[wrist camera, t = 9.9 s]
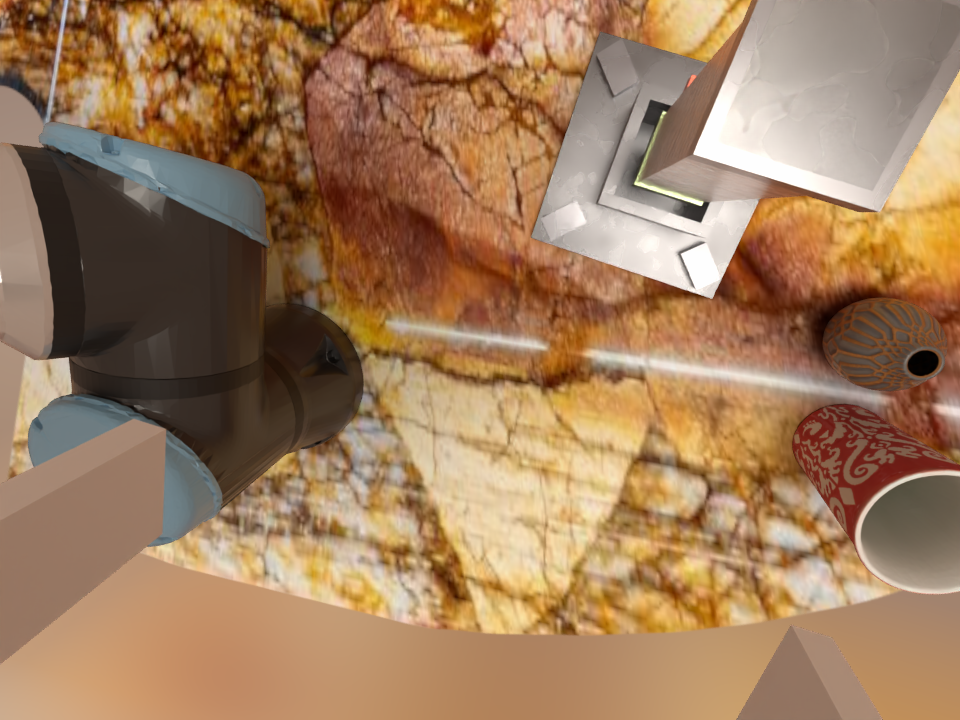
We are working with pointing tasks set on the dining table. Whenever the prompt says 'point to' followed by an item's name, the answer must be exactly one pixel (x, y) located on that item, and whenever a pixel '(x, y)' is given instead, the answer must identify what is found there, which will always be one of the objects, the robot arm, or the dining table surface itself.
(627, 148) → the stand base
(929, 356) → the vase
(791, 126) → the column
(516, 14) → the dining table surface
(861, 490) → the mug
